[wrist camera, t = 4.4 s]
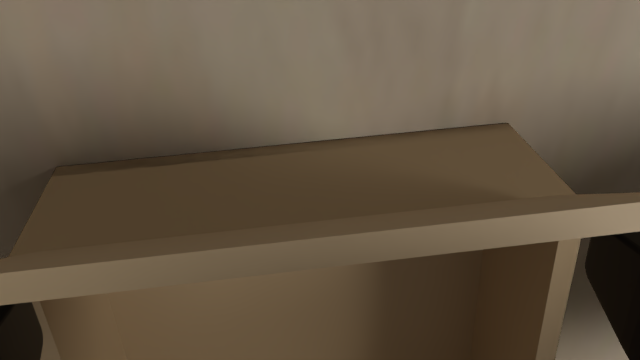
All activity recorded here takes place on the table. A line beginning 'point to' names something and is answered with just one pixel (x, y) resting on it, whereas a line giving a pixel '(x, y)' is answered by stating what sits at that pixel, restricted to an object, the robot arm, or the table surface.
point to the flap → (312, 245)
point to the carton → (316, 284)
